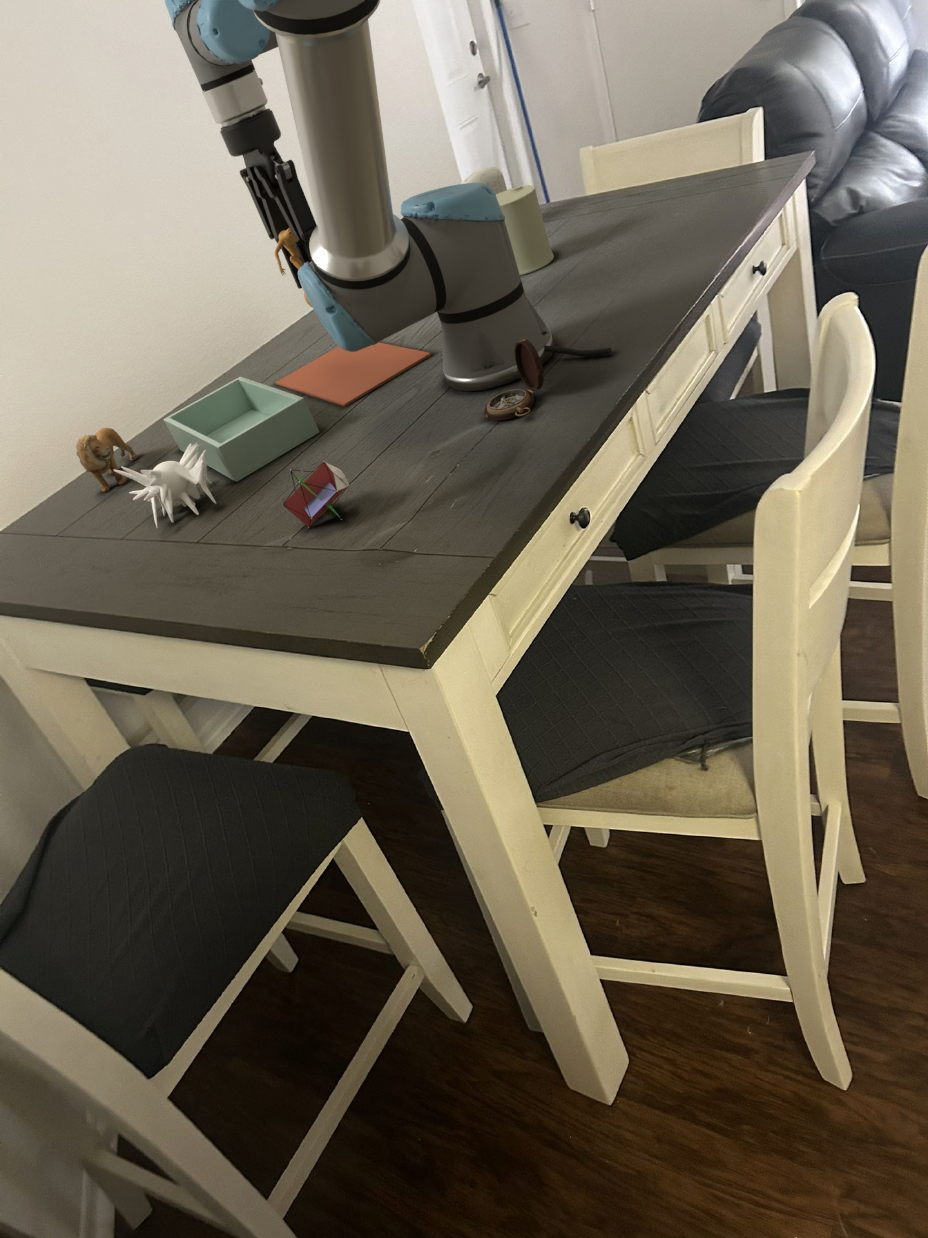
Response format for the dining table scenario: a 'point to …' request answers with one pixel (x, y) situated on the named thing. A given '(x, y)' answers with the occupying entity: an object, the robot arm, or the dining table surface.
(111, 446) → the lion figurine
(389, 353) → the mat
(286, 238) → the figurine
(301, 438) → the basin
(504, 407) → the compass
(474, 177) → the white curved piece
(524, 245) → the can
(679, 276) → the dining table surface
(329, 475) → the geometric puzzle
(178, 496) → the spiky ball
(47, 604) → the dining table surface
